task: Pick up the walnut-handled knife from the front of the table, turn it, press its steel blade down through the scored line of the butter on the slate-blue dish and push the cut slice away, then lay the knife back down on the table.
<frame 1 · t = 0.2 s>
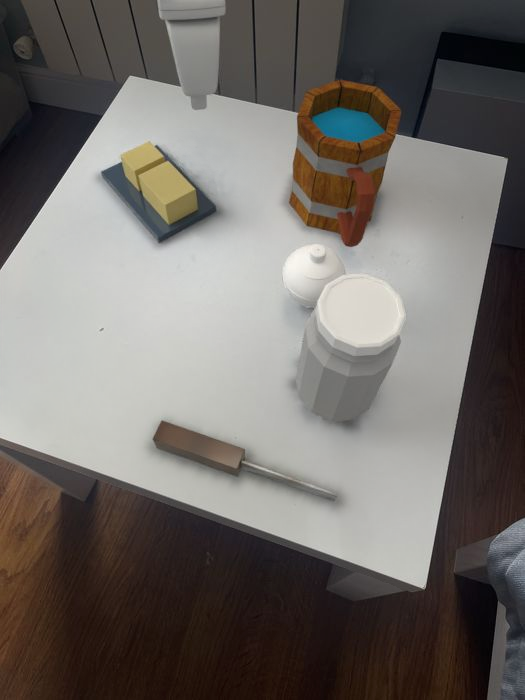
hand: (194, 80, 66), 18 cm above the table, tool pointing down, fingers open, 8 cm apart
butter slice: (146, 176, 81), point 1 cm above the table, touching butter dish
butter block: (170, 202, 78), point 1 cm above the table, touching butter dish
jar: (334, 388, 66), on the table
butter dish: (158, 194, 81), on the table
spinning top: (307, 308, 72), on the table
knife: (241, 466, 61), on the table
mug: (336, 215, 80), on the table
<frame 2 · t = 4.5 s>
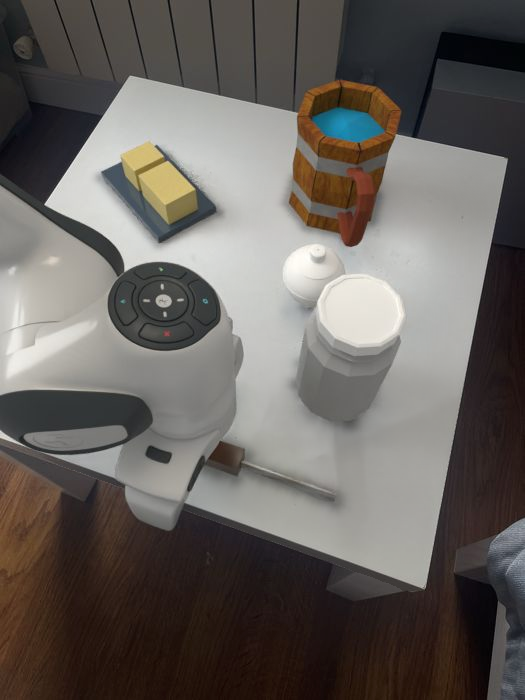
hand: (199, 448, 60), 2 cm above the table, tool pointing down, fingers closed on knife, 2 cm apart
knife: (241, 466, 61), on the table, touching gripper
everything else where it was.
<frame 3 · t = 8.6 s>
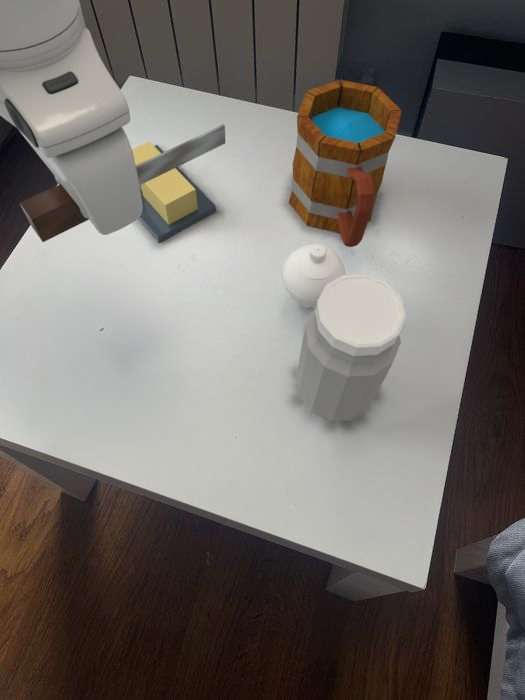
hand: (80, 198, 49), 23 cm above the table, tool pointing down, fingers closed on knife, 2 cm apart
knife: (132, 187, 52), point 21 cm above the table, touching gripper
everything else where it was.
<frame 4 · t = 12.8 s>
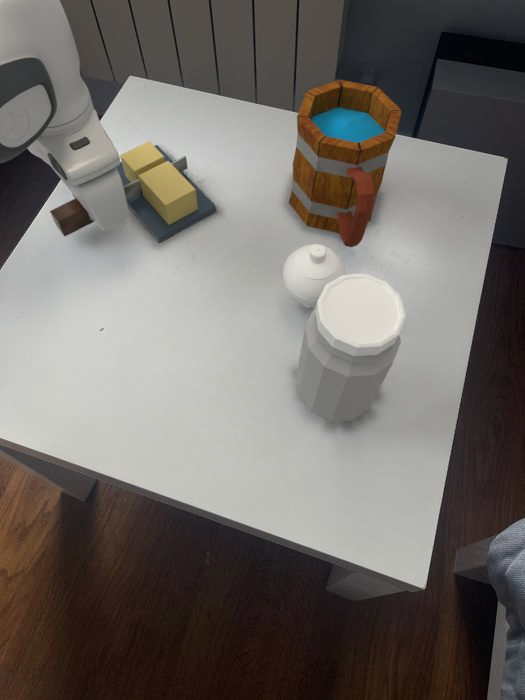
hand: (89, 208, 75), 3 cm above the table, tool pointing down, fingers closed on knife, 2 cm apart
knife: (123, 199, 78), point 2 cm above the table, touching gripper
everything else where it was.
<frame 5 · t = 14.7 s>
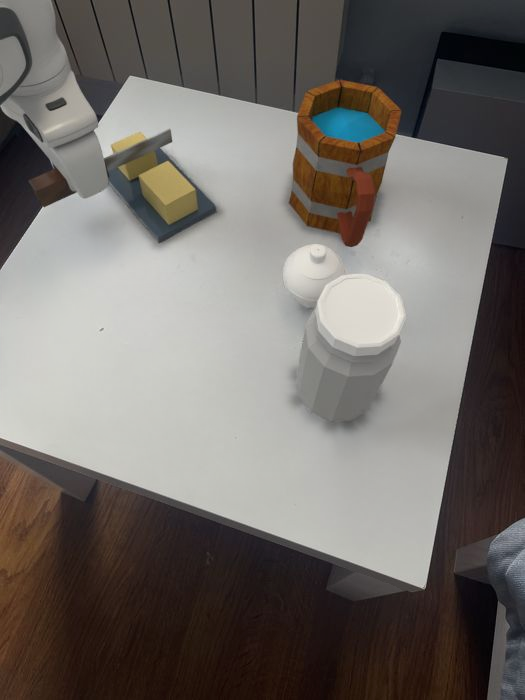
hand: (69, 178, 73), 6 cm above the table, tool pointing down, fingers closed on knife, 2 cm apart
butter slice: (137, 166, 82), point 1 cm above the table, touching butter dish, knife
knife: (105, 172, 76), point 5 cm above the table, touching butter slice, gripper
everything else where it was.
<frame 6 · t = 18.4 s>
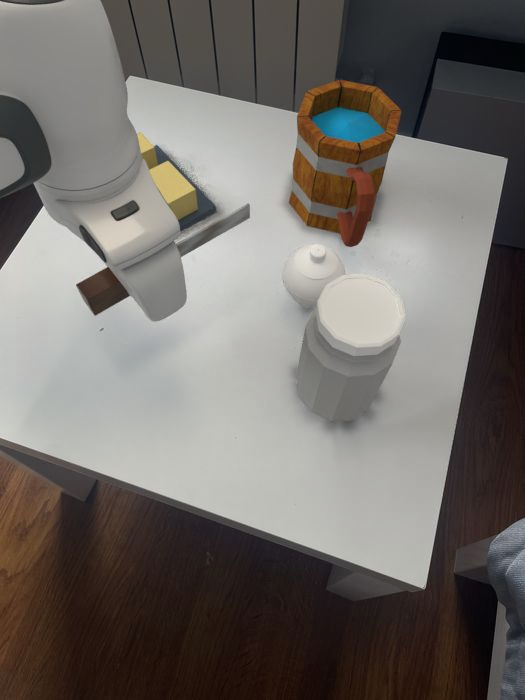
hand: (125, 277, 56), 14 cm above the table, tool pointing down, fingers closed on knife, 2 cm apart
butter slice: (137, 167, 82), point 1 cm above the table, touching butter dish
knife: (169, 262, 59), point 12 cm above the table, touching gripper
everything else where it was.
when the fingers open (1 cm above the table, at t = 21.3 s): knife stays where it is, on the table.
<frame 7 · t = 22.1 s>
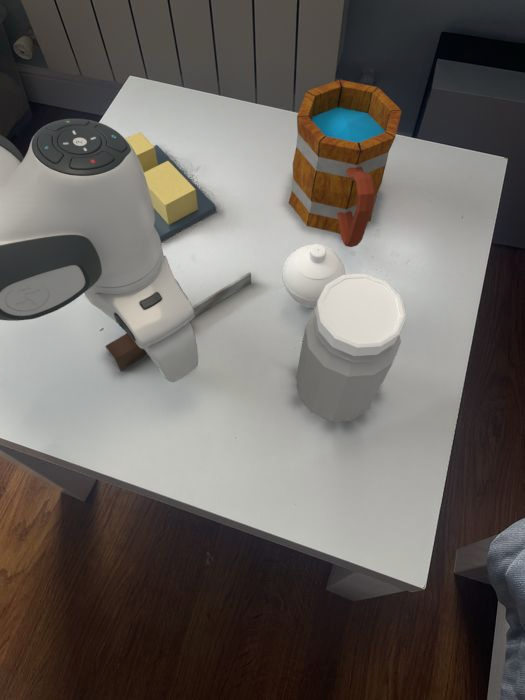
hand: (144, 337, 67), 2 cm above the table, tool pointing down, fingers open, 8 cm apart
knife: (182, 323, 70), on the table
everything else where it was.
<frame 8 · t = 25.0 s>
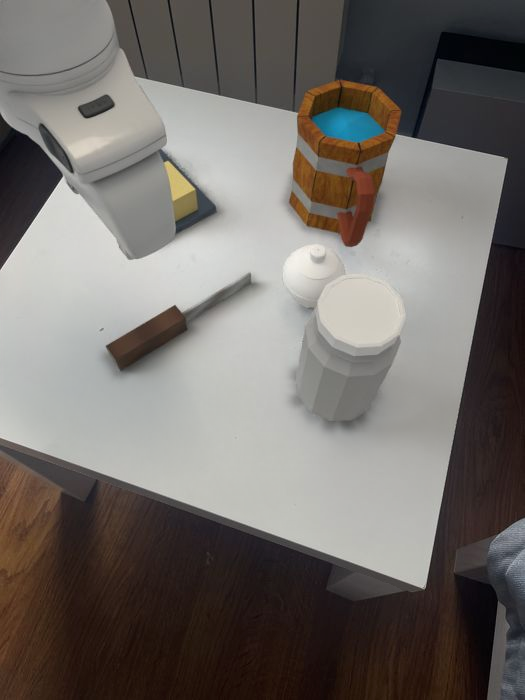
hand: (105, 218, 48), 23 cm above the table, tool pointing down, fingers open, 8 cm apart
nothing on the table moved.
at the end: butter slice 1.0 cm from the target spot on the butter dish, point 1.2 cm above the butter dish's base; butter block moved 0.0 cm from its start; the gripper is holding nothing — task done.
